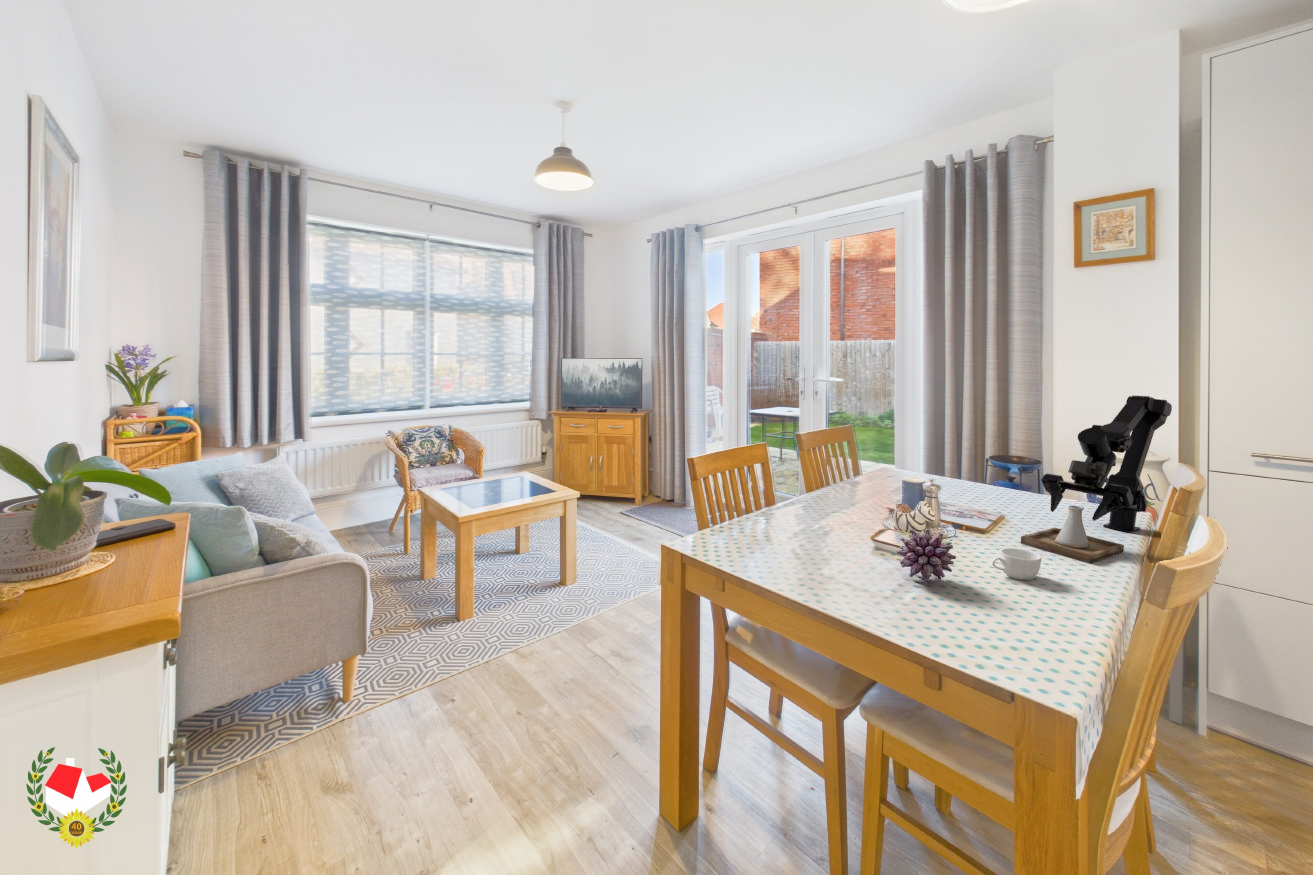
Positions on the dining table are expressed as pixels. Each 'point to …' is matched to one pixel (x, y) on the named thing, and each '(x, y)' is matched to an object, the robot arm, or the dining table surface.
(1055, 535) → the walnut tray
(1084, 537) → the flask
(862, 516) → the dining table surface
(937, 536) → the flower
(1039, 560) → the teacup
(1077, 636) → the dining table surface
